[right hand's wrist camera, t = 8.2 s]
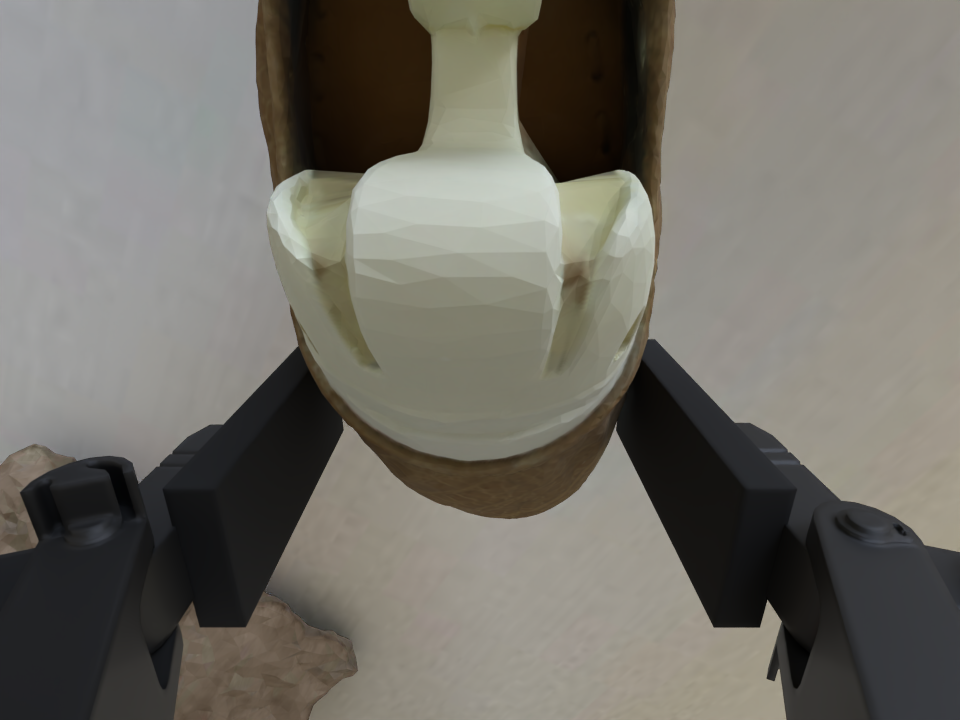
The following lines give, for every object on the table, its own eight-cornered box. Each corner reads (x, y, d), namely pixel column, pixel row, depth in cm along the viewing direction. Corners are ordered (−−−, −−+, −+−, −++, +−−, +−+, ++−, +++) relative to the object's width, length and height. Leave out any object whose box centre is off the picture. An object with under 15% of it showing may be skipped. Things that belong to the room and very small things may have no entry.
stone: (-145, 621, 26) (-266, 737, 21) (49, 414, 26) (-24, 478, 20) (216, 746, 35) (197, 850, 30) (366, 595, 35) (375, 673, 29)
